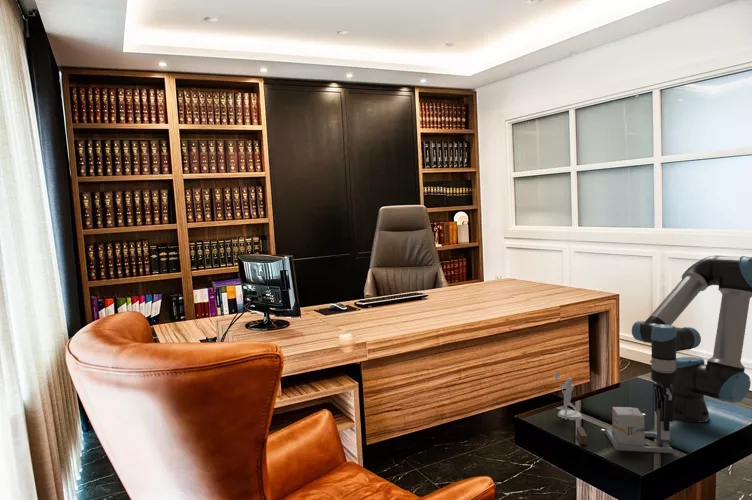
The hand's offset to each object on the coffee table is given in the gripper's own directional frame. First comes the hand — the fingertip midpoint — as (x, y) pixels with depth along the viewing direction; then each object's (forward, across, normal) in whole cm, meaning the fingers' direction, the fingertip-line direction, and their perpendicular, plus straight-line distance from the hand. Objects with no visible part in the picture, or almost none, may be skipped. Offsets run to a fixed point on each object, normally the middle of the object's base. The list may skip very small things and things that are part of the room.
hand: (663, 437), depth 178 cm
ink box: (+3, +1, -12) cm, 12 cm away
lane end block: (+3, 0, -27) cm, 27 cm away
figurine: (+3, -24, -27) cm, 36 cm away
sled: (+2, 0, -8) cm, 8 cm away
